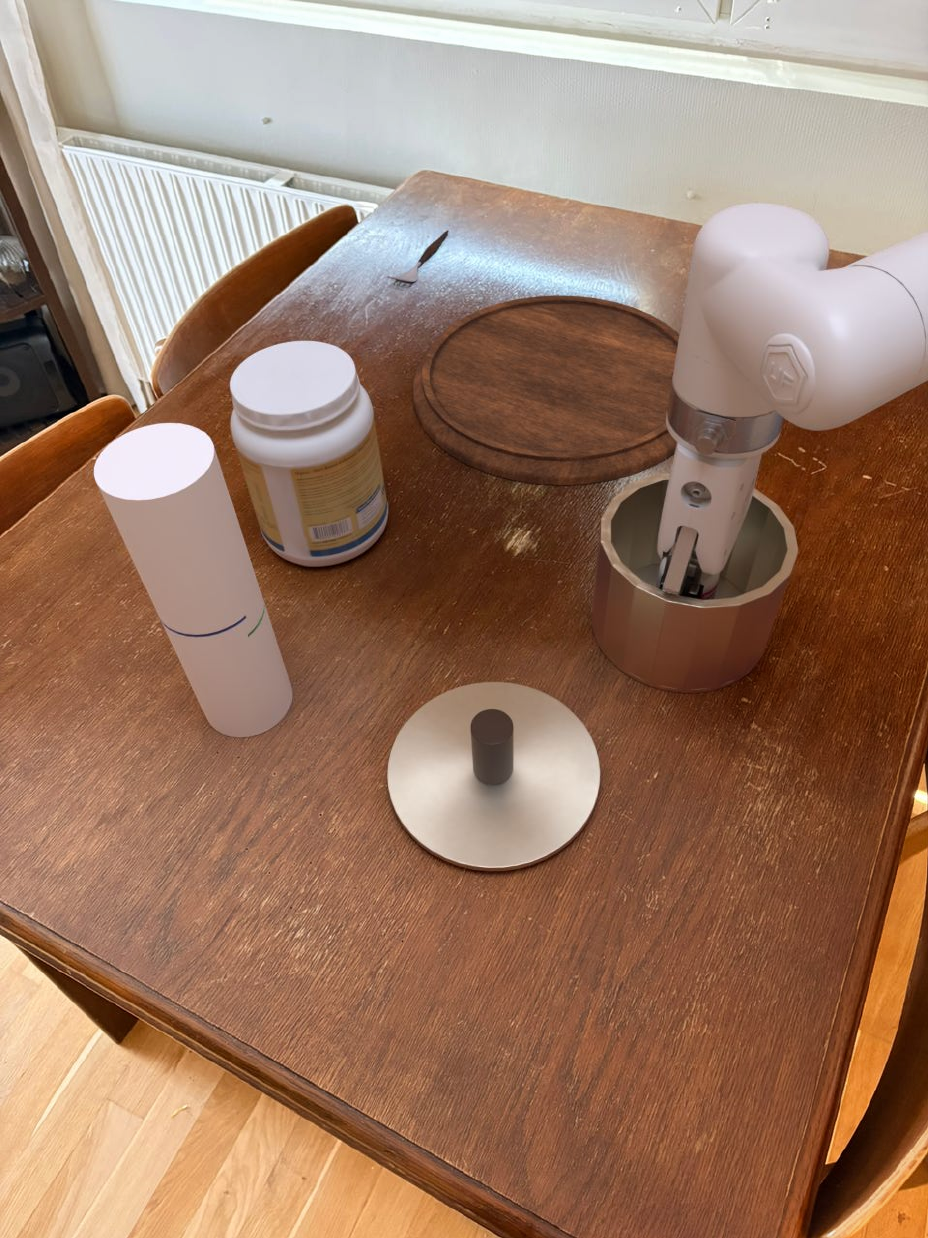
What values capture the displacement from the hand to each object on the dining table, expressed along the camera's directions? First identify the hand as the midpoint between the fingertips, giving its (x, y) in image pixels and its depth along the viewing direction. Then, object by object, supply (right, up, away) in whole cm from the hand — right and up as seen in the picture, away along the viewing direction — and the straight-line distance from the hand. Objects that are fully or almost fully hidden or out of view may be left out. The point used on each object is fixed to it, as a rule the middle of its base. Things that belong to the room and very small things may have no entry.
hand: (686, 590), depth 73 cm
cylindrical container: (-36, -9, 0) cm, 37 cm away
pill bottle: (0, -3, +3) cm, 4 cm away
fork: (-23, +44, +45) cm, 67 cm away
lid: (-16, -14, -6) cm, 22 cm away
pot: (0, -3, +3) cm, 4 cm away
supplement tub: (-31, +6, +13) cm, 34 cm away
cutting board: (-8, +23, +26) cm, 35 cm away
